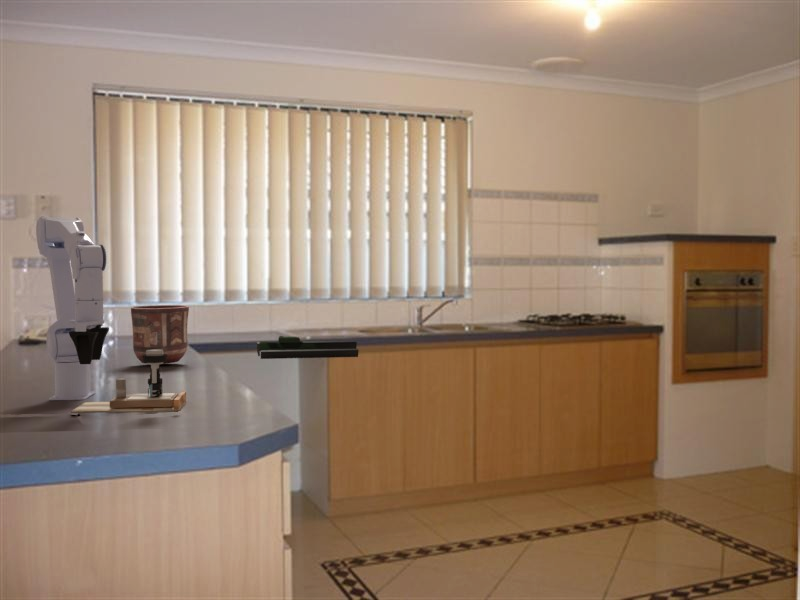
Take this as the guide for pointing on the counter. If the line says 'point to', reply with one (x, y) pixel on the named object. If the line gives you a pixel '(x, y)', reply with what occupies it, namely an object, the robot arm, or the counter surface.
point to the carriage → (139, 398)
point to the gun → (306, 348)
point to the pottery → (160, 330)
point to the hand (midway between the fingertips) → (90, 361)
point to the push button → (154, 370)
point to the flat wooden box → (105, 407)
